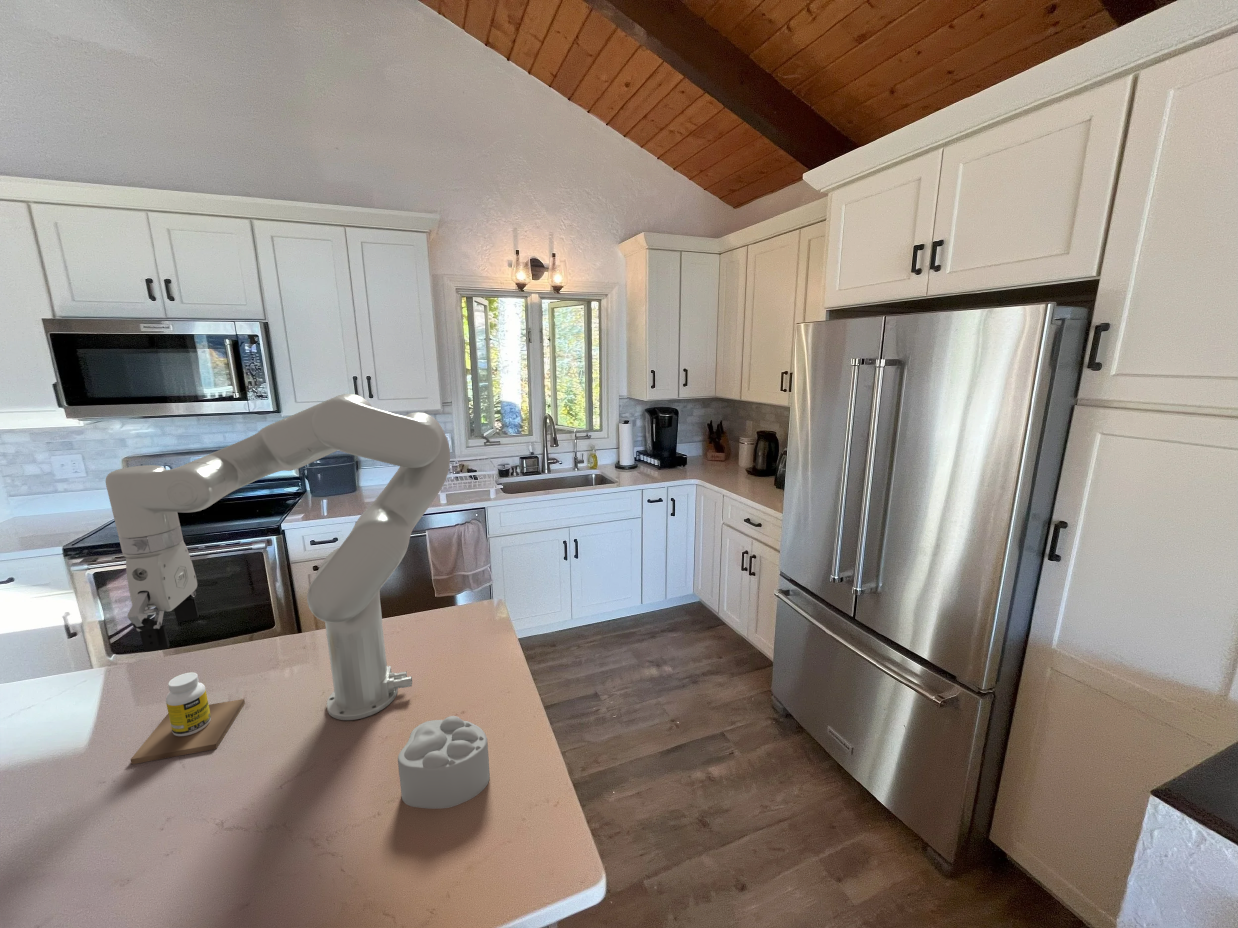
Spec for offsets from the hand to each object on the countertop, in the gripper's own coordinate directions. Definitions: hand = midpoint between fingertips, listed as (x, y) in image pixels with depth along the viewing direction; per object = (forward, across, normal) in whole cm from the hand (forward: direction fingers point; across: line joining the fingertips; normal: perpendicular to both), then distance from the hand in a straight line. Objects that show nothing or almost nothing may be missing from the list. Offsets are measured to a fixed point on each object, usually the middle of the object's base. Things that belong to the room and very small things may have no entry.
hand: (173, 633), depth 87 cm
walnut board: (+20, 0, 0) cm, 20 cm away
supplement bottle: (+19, 0, 0) cm, 19 cm away
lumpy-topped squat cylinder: (+20, -24, -44) cm, 55 cm away
